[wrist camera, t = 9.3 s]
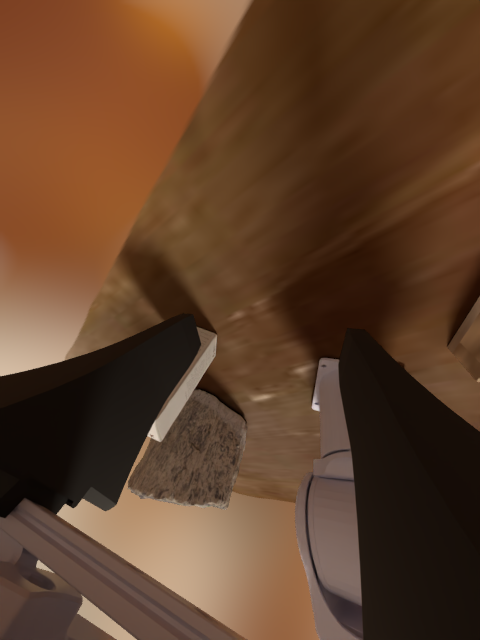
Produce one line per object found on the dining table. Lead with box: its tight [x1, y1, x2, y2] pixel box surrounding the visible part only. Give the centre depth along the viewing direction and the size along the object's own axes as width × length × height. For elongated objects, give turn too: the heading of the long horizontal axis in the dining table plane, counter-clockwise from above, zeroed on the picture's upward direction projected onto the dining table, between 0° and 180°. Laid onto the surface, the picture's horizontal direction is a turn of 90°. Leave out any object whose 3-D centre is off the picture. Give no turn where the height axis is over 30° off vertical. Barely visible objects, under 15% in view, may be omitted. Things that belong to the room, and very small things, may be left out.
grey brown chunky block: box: [128, 389, 247, 510], centre depth 32 cm, size 19×17×15 cm
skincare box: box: [147, 327, 217, 442], centre depth 22 cm, size 6×4×12 cm
